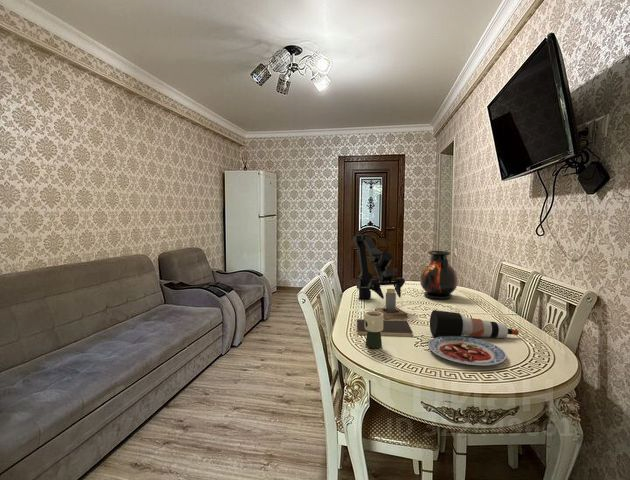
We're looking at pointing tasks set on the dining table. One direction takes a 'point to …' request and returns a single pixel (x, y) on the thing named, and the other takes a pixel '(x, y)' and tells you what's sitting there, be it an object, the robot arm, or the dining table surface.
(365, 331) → the hardcover book
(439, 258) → the dark orange vase
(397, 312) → the brown square frame
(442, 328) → the black white tapered cylinder
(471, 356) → the ceramic plate
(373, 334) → the character mug
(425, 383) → the dining table surface
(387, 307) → the grey and tan cylinder
